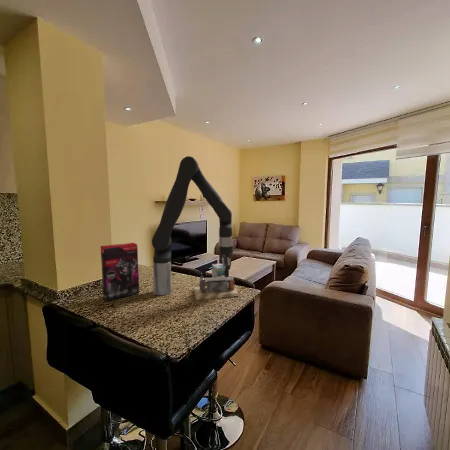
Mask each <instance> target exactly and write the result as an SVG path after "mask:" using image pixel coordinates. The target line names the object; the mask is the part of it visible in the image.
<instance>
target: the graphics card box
mask: <svg viewBox="0 0 450 450" xmlns="http://www.w3.org/2000/svg"><path fill="white" fill-rule="evenodd" d="M138 249H139V248H138V244H137V243H136V242H128V243H118V244H117V243H116V244H108V245H101V246H100V258H101V260H100V261H101V275H102V277H101V278H102V279H101V280H102V295H103V297H102V298H103V299H104V301H107V302H108V301H113V300H117V299H121V298H125V297H129V296H133V295H137V294H140V280H139V279H140V277H139V276H140V275H139V258H138V257H139V256H138V254H139V253H138V251H139V250H138Z"/></svg>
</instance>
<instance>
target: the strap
mask: <svg viewBox="0 0 450 450" xmlns="http://www.w3.org/2000/svg"><path fill="white" fill-rule="evenodd" d="M201 279H205V282H207V281H223V280H227V281H229V280H234V279H235V278H234V276H230V275H229V276H228V277H225V276H224V275H222V277H214V278H212V277H204V278H200V277H199V282H200V281H201ZM234 281H235V280H234Z"/></svg>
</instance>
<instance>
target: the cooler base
mask: <svg viewBox="0 0 450 450" xmlns="http://www.w3.org/2000/svg"><path fill="white" fill-rule="evenodd" d="M200 278H205V277H204V275H202V276H199V279H200ZM193 292H194V295H195V296H194V297H195V299H196V300H197V301H199V300H211V299H213V298H214V299H223V298H222V297H227V298H235V297H234V296H238V297H239V292H238V291H237V289H236V288H235V280H227V281H226V280H223V281H205V279H201V281H200V280H199V286H193Z"/></svg>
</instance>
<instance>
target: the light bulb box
mask: <svg viewBox="0 0 450 450" xmlns="http://www.w3.org/2000/svg"><path fill="white" fill-rule="evenodd" d="M222 275H224V267H223V263H211V278H214V277H222ZM226 281H227V282H228V280H226Z"/></svg>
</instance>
